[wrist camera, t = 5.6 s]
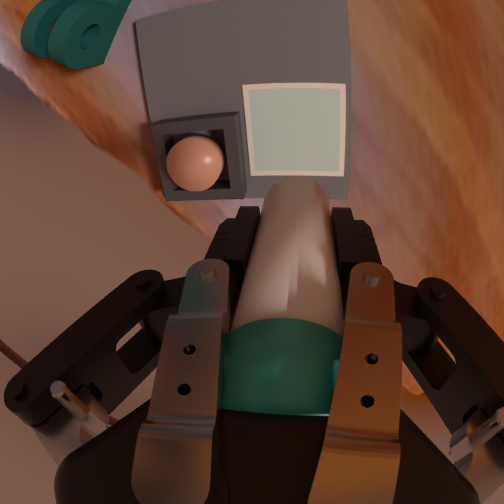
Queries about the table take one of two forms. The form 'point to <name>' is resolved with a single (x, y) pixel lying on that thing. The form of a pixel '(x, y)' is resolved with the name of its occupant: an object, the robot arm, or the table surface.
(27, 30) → the bracket
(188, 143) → the button
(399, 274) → the table surface
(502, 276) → the table surface
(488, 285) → the table surface
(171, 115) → the drawing board
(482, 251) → the table surface
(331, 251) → the marker
